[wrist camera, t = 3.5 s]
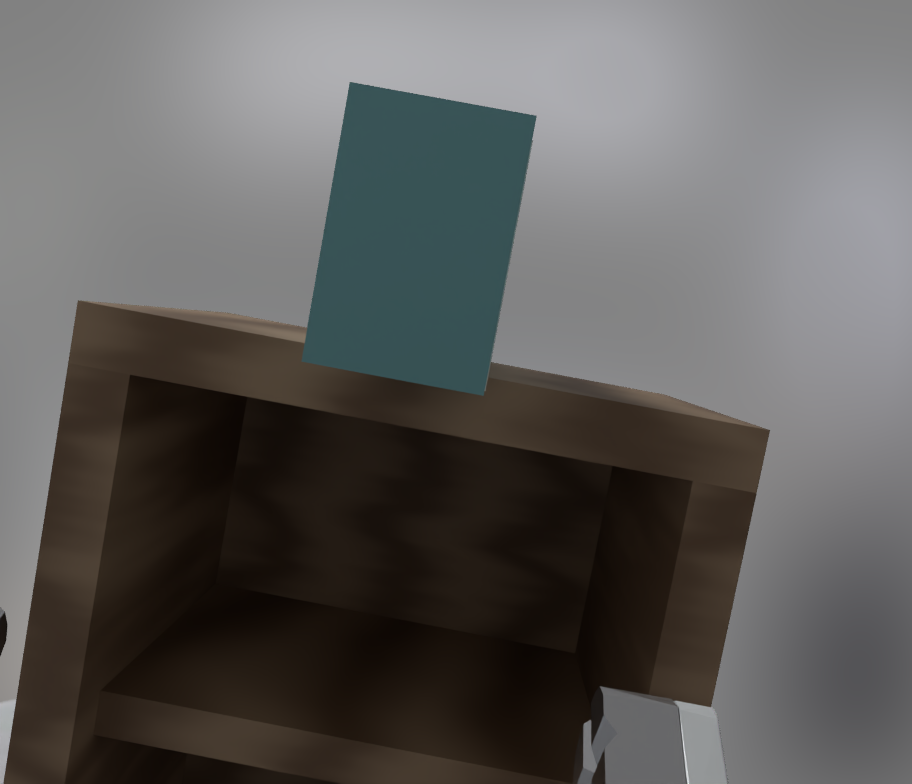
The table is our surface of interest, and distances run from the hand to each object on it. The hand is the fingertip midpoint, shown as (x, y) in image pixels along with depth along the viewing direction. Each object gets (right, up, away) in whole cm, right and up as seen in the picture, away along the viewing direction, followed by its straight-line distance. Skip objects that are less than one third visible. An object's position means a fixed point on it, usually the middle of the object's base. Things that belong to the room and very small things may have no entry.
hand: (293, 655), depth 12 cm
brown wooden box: (-3, -21, +25) cm, 33 cm away
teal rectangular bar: (+1, +5, +19) cm, 20 cm away
